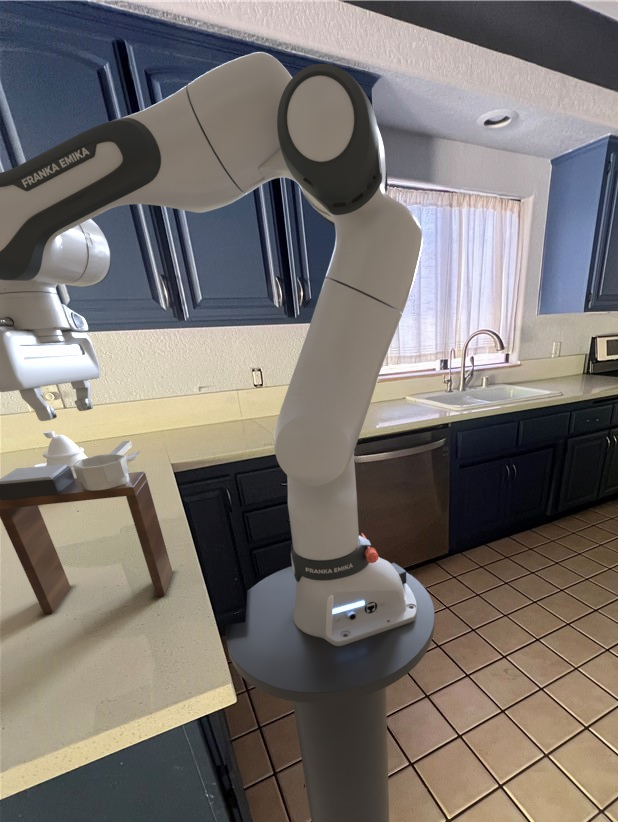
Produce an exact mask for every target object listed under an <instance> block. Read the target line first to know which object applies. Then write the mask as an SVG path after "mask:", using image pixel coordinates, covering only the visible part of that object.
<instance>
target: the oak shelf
mask: <svg viewBox="0 0 618 822" xmlns="http://www.w3.org/2000/svg"><path fill="white" fill-rule="evenodd" d="M128 474H129V478H130V480H129V481H128V482H127V483H125V484H123V485H120V486H118V487H114V488H110V489H105V490H95V491H91V490H85V489H83V488H82V485H81V482H79V481H78V479H77V478H74V479H75V480H74V481H73V482H71V483H70V484H69V485H68V486H67V487H66V488H65V489H64V490H62V491H61V492H60V493H59V494H58V495H48V496H38V497H28V498H18V499H8V500H0V520H1V522H2V525H3V527H4V529H5V532H6V533H7V536H8V538H9V540H10V542H11V544H12V545H11V546H12V547H13V549H14V551H15V553H16V556H17V558H18V561H19V563H20V564H21V567H22V569H23V571H24V573H25V575H26V578H27V580H28V582H29V585H30V586H31V590H32V591H33V593H34V596H35V598H36V600H37V602H38V605H39V606H40V608H41V611H42V613H43V614H44V615H47V614H48V615H49V614H52V613H55V612H56V610H57V608H58V607H59V605H60V604H61V602H63V600H64V598H65V597H66V595H67V594H68V592H69V591H70V590H71V588H72V587H71V584H70V582H69V580H68V577H67V574H66V572H65V569H64V567H63V564H62V562H61V560H60V557H59V554H58V552H57V549H56V547H55V545H54V542H53V540H52V537H51V535H50V532H49V530H48V527H47V525H46V521H45V520H44V517H43V515H42V513H41V510H40V507H39V506H47V505H54V504H55V505H56V504H64V503H76V502H83V501H85V502H86V501H90V500H91V501H93V500H102V499H113V498H121V497H126V498H125V499H126V501H127V505H128V508H129V511H130V514H131V517H132V521H133V525H134V527H135V530H136V535H137V538H138V541H139V544H140V547H141V550H142V553H143V557H144V561H145V564H146V567H147V570H148V573H149V577H150V580H151V583H152V587H153V590H154V593H155V596H156V598H158V597H163V596H166V594H167V591H168V588H169V586H170V585H169V584H170V582H171V580H172V577H173V573H174V572H173V568H172V565H171V560H170V558H169V553H168V550H167V546H166V543H165V540H164V536H163V532H162V529H161V525H160V521H159V518H158V514H157V510H156V507H155V503H154V500H153V499H154V498H153V496H152V491H151V489H150V485H149V482H148V479H147V473H146V471H135V472H134V471H133V472H128Z"/></svg>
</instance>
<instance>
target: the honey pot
mask: <svg viewBox="0 0 618 822" xmlns="http://www.w3.org/2000/svg"><path fill="white" fill-rule="evenodd" d="M42 434H43V435H44V437H45V438H46V439H50V442H49V444H48V449H47V451H45V452H44V453H43V454H42V457H43V458H44V459H46V463H47V464H46V466H51V465H63V464H67V467H68V466H70V468H71V470H72V473H73V476H74V478H77V476H76V473H75V470H74V468H73V465H74V464H75V463H76V462H77V461H79V460H81V459H85V458H88V456H87V455H86V454H85V453H84V451H85V450H84V448H83V447H81V446H78V444H76V443H75V442H74V441H73V440H71V439H70V438H69V437H68V436H65V435H64V434H59V433H58V434H55V430H47V431H43V432H42Z"/></svg>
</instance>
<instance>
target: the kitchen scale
mask: <svg viewBox="0 0 618 822" xmlns="http://www.w3.org/2000/svg"><path fill="white" fill-rule="evenodd" d="M74 480H75V479H74V476H73V473H72V470H71V468H70V466H68V467H67V464H63V465H51V466H40V467H34V466H31V467H29V466H28V467H19V468H15V469H14V470H12V471H11V472H8V474H6V475H3V476H2V477H1V478H0V500H8V499H18V498H28V497H38V496H48V495H58V494H59V493H60V492H61V491H62V490H64V489H65V488H66V487H67V486H68V485H69V484H70V483H71V482H73V481H74Z"/></svg>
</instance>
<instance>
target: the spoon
mask: <svg viewBox="0 0 618 822" xmlns="http://www.w3.org/2000/svg"><path fill="white" fill-rule="evenodd" d="M140 453H141V451H140V450H136V451H134V452H132V453H130V454H127V455H124V456H125V458H126V462H127V463H129V462H132V461H134V460H136V458H137V457H138V456H139V454H140ZM87 457H88V456H87ZM89 457H90V456H89ZM89 457H88V458H89ZM46 464H47V462H42V463H37V464H34V465H33V467H40V466H46Z"/></svg>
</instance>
